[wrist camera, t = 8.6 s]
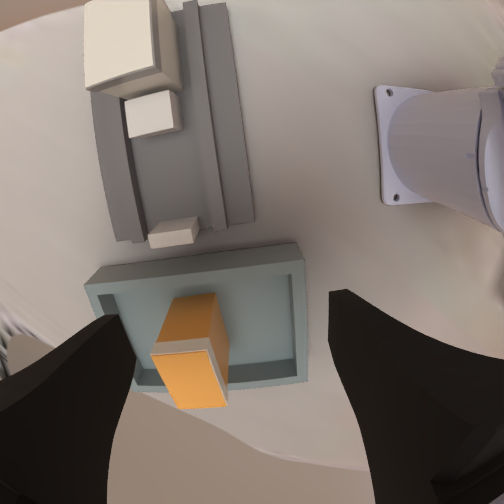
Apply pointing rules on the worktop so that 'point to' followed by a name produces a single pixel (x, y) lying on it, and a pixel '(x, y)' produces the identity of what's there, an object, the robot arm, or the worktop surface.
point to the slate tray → (231, 306)
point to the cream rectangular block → (131, 48)
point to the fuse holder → (178, 143)
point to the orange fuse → (194, 352)
